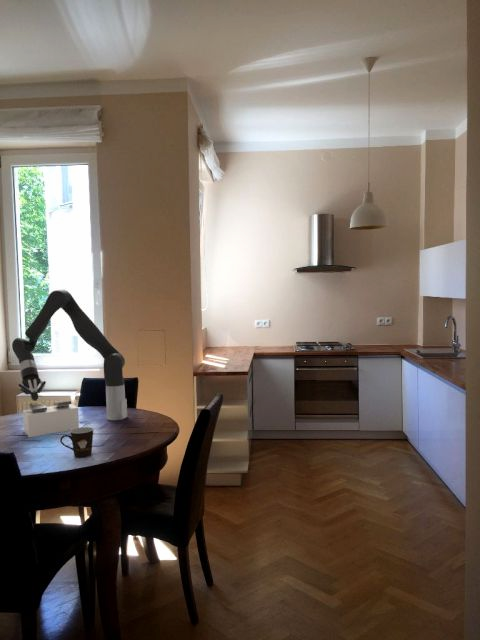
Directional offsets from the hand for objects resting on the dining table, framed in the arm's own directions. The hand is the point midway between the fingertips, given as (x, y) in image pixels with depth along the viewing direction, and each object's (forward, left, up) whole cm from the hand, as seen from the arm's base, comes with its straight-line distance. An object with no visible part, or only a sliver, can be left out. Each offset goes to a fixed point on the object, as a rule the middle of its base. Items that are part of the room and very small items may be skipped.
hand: (35, 399), depth 223 cm
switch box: (-8, 0, -14) cm, 16 cm away
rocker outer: (-4, +4, -2) cm, 6 cm away
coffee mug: (-40, +32, -15) cm, 53 cm away
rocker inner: (-11, -4, -2) cm, 12 cm away
